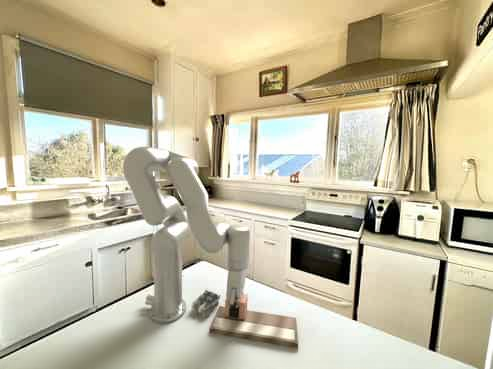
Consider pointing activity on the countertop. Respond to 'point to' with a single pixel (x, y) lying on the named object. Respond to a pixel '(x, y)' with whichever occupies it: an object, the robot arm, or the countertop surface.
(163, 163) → the robot arm
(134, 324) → the countertop surface
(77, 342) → the countertop surface
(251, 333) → the board
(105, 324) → the countertop surface
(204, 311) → the egg carton
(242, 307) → the peach rectangular block
